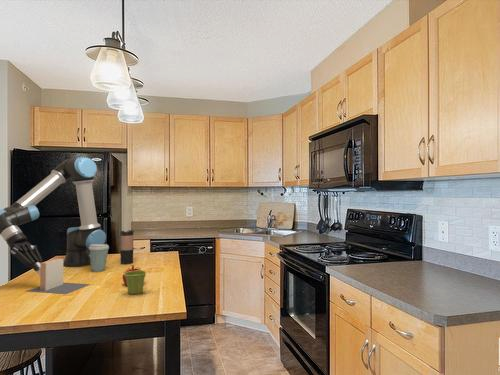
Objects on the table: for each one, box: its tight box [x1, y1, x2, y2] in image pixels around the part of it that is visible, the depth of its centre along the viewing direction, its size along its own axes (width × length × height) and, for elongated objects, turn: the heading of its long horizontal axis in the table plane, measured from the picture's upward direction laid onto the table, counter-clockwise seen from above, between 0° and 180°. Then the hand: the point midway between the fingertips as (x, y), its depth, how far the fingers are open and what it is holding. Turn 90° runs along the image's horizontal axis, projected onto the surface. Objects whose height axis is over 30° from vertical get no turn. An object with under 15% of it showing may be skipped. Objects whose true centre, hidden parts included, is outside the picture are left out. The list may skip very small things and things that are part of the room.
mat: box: [25, 281, 92, 295], centre depth 152 cm, size 16×21×1 cm
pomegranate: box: [122, 264, 143, 287], centre depth 160 cm, size 10×10×9 cm
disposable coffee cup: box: [88, 243, 110, 273], centre depth 188 cm, size 11×11×15 cm
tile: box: [39, 258, 64, 290], centre depth 153 cm, size 10×3×12 cm, turn 168°
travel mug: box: [119, 230, 134, 265], centre depth 208 cm, size 8×8×20 cm
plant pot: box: [123, 270, 147, 295], centre depth 146 cm, size 9×9×9 cm
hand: (44, 274), depth 153 cm, fingers closed
